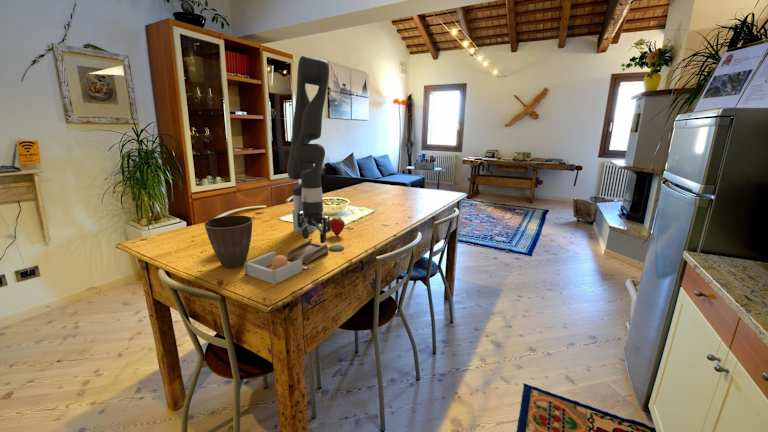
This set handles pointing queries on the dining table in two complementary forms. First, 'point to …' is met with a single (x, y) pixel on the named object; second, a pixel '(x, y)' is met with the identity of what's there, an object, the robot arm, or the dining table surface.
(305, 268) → the painted line
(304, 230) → the robot arm
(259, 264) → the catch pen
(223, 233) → the plant pot
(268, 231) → the dining table surface
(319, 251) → the walnut ramp
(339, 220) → the strawberry
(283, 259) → the rubber ball
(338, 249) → the coaster
